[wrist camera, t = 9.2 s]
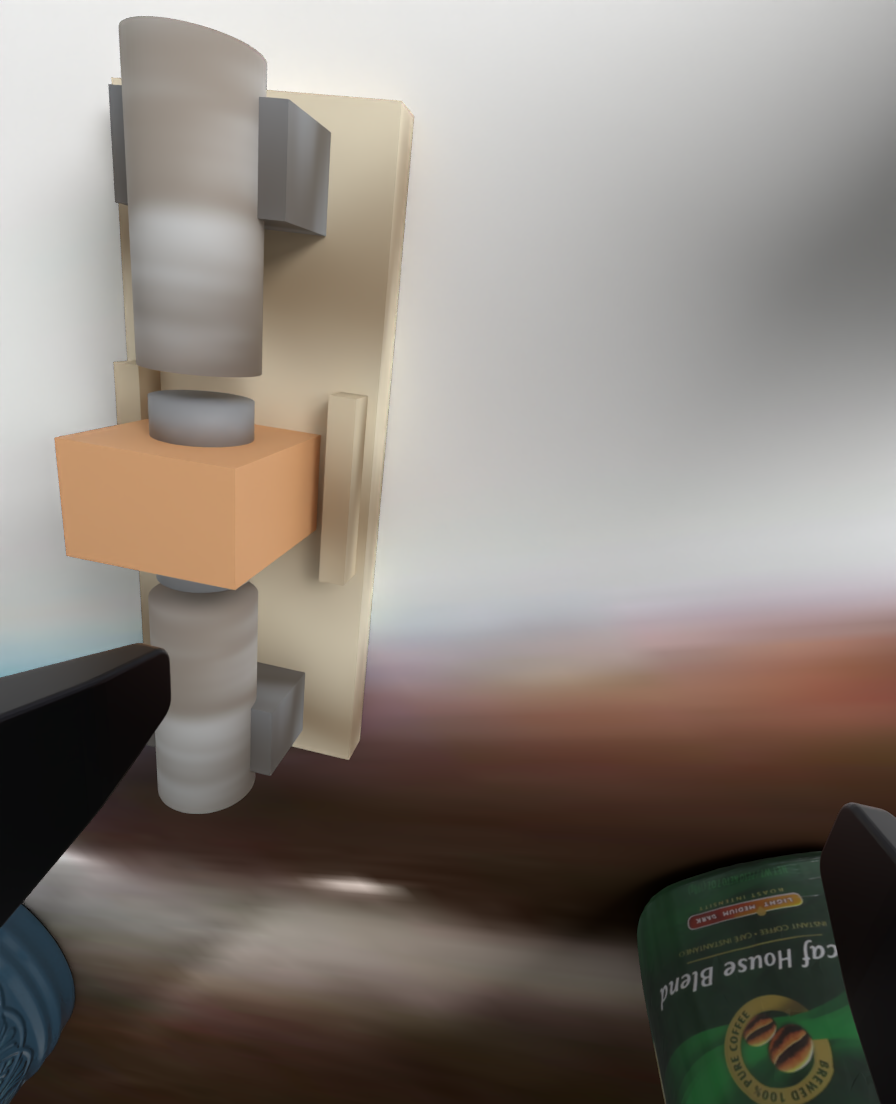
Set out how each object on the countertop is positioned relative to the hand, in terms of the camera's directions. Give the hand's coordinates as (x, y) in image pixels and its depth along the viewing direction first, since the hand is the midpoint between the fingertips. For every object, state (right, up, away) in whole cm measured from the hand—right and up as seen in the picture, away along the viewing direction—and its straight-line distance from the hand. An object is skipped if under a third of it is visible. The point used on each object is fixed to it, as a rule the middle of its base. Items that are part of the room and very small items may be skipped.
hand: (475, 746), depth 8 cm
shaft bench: (-6, +6, +12) cm, 15 cm away
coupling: (-7, +5, +11) cm, 14 cm away
